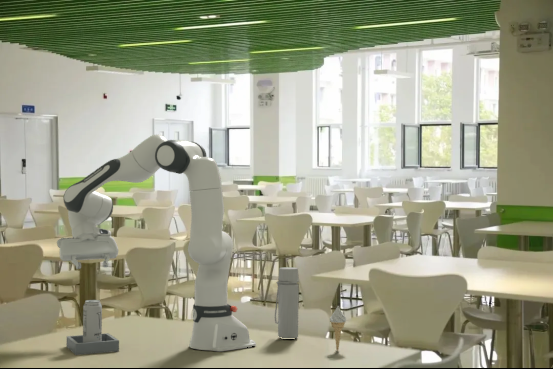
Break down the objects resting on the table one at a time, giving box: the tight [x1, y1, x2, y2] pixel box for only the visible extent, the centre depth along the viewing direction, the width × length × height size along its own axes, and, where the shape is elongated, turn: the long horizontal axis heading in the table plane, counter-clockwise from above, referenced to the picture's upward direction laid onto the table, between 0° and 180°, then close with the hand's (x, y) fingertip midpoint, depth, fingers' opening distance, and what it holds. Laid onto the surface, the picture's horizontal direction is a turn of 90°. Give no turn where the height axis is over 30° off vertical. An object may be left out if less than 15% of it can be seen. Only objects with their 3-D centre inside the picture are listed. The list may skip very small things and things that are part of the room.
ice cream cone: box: [329, 305, 347, 351], centre depth 264 cm, size 6×6×15 cm
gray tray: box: [66, 332, 120, 356], centre depth 263 cm, size 14×14×4 cm
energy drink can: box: [82, 299, 103, 343], centre depth 263 cm, size 6×6×15 cm
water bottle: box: [274, 266, 300, 339], centre depth 285 cm, size 9×8×25 cm
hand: (92, 267), depth 276 cm, fingers open, 8 cm apart
